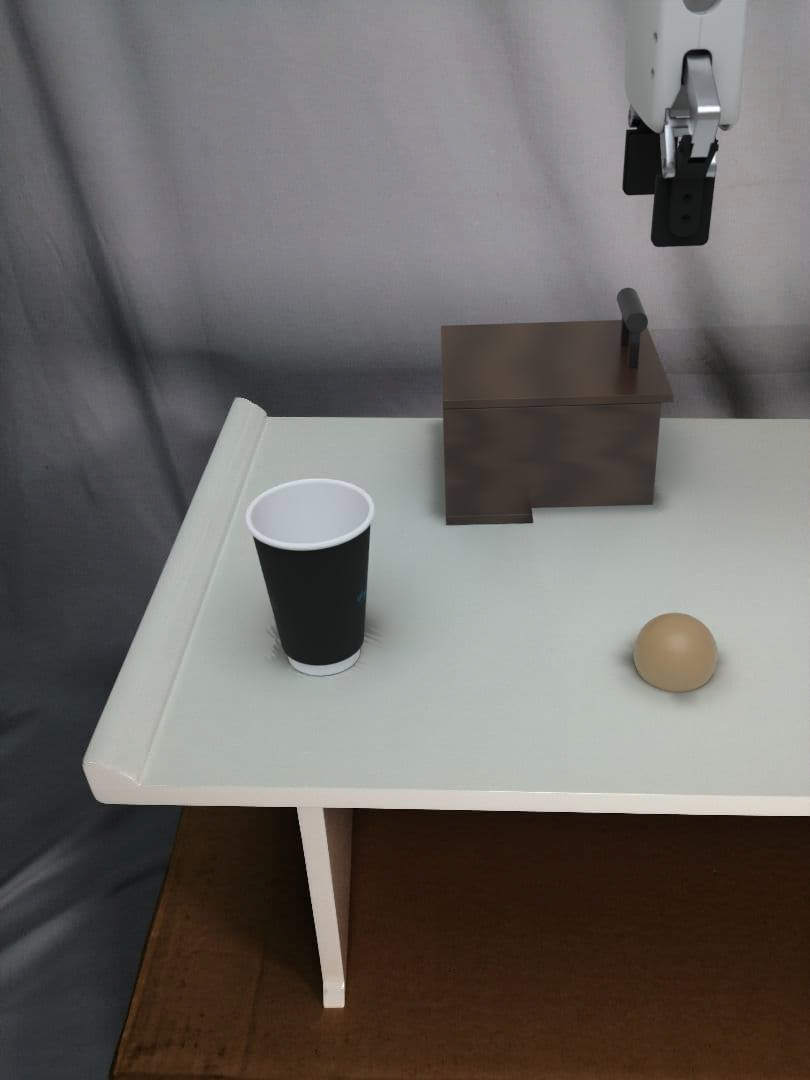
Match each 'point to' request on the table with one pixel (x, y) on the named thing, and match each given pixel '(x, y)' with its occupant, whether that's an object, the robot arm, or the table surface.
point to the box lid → (554, 362)
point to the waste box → (547, 459)
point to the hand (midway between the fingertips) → (662, 217)
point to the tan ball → (675, 652)
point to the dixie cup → (315, 568)
